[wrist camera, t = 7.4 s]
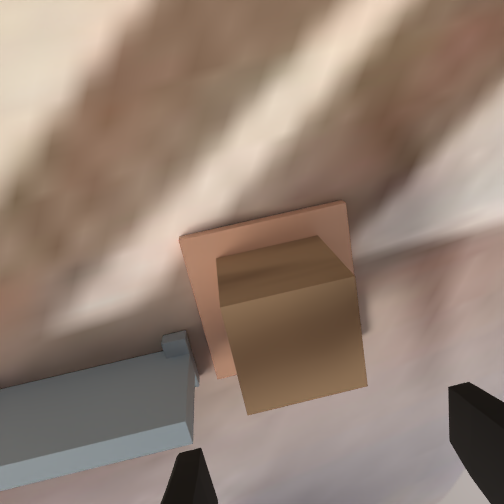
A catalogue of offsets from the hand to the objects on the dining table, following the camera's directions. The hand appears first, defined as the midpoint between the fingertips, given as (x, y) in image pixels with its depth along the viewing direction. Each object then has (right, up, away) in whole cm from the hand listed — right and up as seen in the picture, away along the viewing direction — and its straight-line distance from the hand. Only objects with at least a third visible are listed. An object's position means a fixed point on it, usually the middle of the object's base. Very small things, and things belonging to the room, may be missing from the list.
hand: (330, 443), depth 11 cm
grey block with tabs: (-11, -1, +10) cm, 15 cm away
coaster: (-1, +3, +9) cm, 10 cm away
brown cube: (-1, +3, +9) cm, 9 cm away
